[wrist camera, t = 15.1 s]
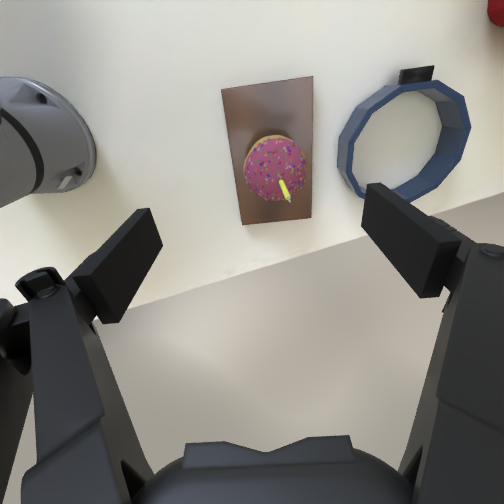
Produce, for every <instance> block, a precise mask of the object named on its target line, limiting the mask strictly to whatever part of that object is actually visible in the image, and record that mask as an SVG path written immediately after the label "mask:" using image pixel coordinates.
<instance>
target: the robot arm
mask: <svg viewBox="0 0 504 504" xmlns="http://www.w3.org/2000/svg"><path fill="white" fill-rule="evenodd" d="M95 162H96V152H95V146H94V142H93V138H92V136H91V133H90V131H89V129H88V127H87V125H86V123H85V122H84V120H83V119H82V117H81V116H80V114H79V113H78V112H77V111H76V110H75V108H74V107H73V106H72V105H71V104H70V103H69V102H68V101H67V100H66V99H65V98H63V97H62V96H61V95H60V94H58V93H57V92H56V91H54V90H52V89H51V88H49V87H47V86H46V85H43V84H41V83H39V82H36V81H34V80H30V79H25V78H16V77H0V208H1V207H3V206H6V205H8V204H10V203H12V202H14V201H16V200H18V199H20V198H22V197H24V196H27V195H29V194H36V193H59V192H67V191H70V190H72V189H75V188H76V187H78V186H80V185H82V184H84V183H85V182H86V181H87V180H88V179H89V178H90V176H91V175H92V173H93V170H94V167H95ZM361 227H362V228H363V229H364V230H365V231H366V233H367V234H368V235H369V236H370V238H371V239H372V240H373V241H374V243H375V244H376V245H377V246H378V247H379V249H380V250H381V251H382V252H383V253H384V255H385V256H386V257H387V258H388V260H389V261H390V262H391V263H392V264H393V266H394V267H395V268H396V269H397V271H398V272H399V273H400V274H401V276H402V277H403V278H404V279H405V280H406V282H407V283H408V284H409V285H410V287H411V288H412V289H413V290H414V292H415V293H416V294H417V295H418V296H419V298H431V297H439V296H440V294H441V291H442V289H443V286H445V287H446V288H447V289H448V290H449V291H450V294H449V297H448V299H447V301H446V304H445V306H444V309H443V310H442V312H443V313H444V314H443V317H442V321H441V325H440V328H439V332H438V336H437V339H436V343H435V346H434V350H433V354H432V357H431V361H430V365H429V368H428V372H427V376H426V379H425V383H424V387H423V390H422V394H421V397H420V401H419V404H418V408H417V412H416V416H415V419H414V423H413V426H412V430H411V433H410V437H409V441H408V444H407V447H406V450H405V453H404V455H403V458H402V461H401V463H400V466H399V469H398V472H397V471H396V470H395V469H394V468H392V467H391V466H389V465H388V464H387V463H385V462H383V461H382V460H380V459H378V458H377V457H375V456H373V455H371V454H369V453H366V452H364V451H361V450H358V449H355V448H353V447H352V443H351V440H350V436H349V435H344V436H323V437H307V438H305V439H302V440H299V441H297V442H294V443H292V444H289V445H287V446H284V447H281V448H279V449H276V450H274V451H271V452H261V451H257V450H253V449H250V448H247V447H243V446H239V445H236V444H232V443H229V442H225V441H222V442H204V443H203V442H202V443H186V445H185V451H184V456H183V457H181V458H179V459H177V460H175V461H173V462H171V463H169V464H168V465H166V466H165V467H164V468H162V469H161V470H159V471H158V472H157V473H156V474H155V475H154V473H153V471H152V469H151V468H150V466H149V464H148V462H147V460H146V458H145V456H144V454H143V451H142V448H141V446H140V443H139V440H138V438H137V435H136V433H135V430H134V427H133V425H132V422H131V419H130V417H129V414H128V411H127V409H126V406H125V404H124V401H123V398H122V396H121V393H120V390H119V388H118V385H117V382H116V380H115V377H114V375H113V372H112V369H111V367H110V364H109V361H108V359H107V356H106V353H105V351H104V348H103V345H102V343H101V340H100V338H99V335H98V332H97V330H96V327H95V326H94V324H93V323H92V321H93V320H94V318H95V317H96V315H97V316H98V318H99V319H100V321H101V322H102V324H110V323H119V322H120V320H121V318H122V317H123V315H124V313H125V311H126V310H127V308H128V306H129V304H130V303H131V301H132V299H133V297H134V296H135V294H136V292H137V290H138V289H139V287H140V285H141V283H142V282H143V280H144V278H145V277H146V275H147V273H148V271H149V270H150V268H151V266H152V264H153V263H154V261H155V259H156V257H157V256H158V254H159V252H160V250H161V249H162V247H163V244H162V241H161V238H160V235H159V233H158V230H157V227H156V224H155V222H154V219H153V216H152V213H151V211H150V208H142V209H137V210H136V211H135V212H134V213H133V214H132V215H131V216H130V217H129V218H128V219H127V220H126V221H125V222H124V223H123V224H122V225H121V226H120V227H119V229H118V230H117V231H116V232H115V233H114V234H113V235H112V236H111V237H110V238H109V239H108V240H107V241H106V242H105V243H104V244H103V245H102V246H101V247H100V248H99V249H98V250H97V251H96V252H94V253H92V254H91V255H89V256H88V257H87V258H86V259H85V260H84V261H83V263H81V264H80V265H79V266H78V268H76V269H75V270H74V271H73V272H72V273H71V274H70V275H69V276H68V277H67V278H66V279H65V280H63V279H62V278H61V276H60V275H59V273H58V272H57V270H56V269H55V268H54V267H44V268H40V269H37V270H34V271H32V272H30V273H28V274H26V275H25V276H23V277H21V278H20V279H19V280H18V281H17V282H16V284H15V287H16V288H17V289H18V290H19V291H20V292H21V294H22V295H23V296H24V297H25V298H26V300H27V301H28V303H24V304H21V305H17V306H13V305H12V304H11V303H10V302H9V301H8V300H7V299H0V504H2V503H3V499H4V495H5V492H6V488H7V485H8V480H9V477H10V474H11V470H12V466H13V463H14V459H15V455H16V452H17V448H18V445H19V441H20V438H21V434H22V430H23V427H24V423H25V419H26V416H27V412H28V409H29V405H30V401H31V398H32V394H33V396H34V414H35V430H36V448H37V463H36V465H34V466H33V467H32V468H30V469H29V470H27V471H26V472H25V474H24V476H23V478H22V484H21V504H504V247H502V246H499V245H495V244H487V243H476V242H474V241H473V240H471V239H470V238H468V237H467V236H465V235H464V234H462V233H460V232H459V231H457V230H456V229H455V228H453V227H450V225H449V224H447V223H445V222H444V221H443V220H441V219H438V218H435V217H433V216H427V215H426V214H424V213H423V212H422V211H420V210H419V209H417V208H416V207H415V206H413V205H412V204H410V203H409V202H407V201H406V200H405V199H403V198H402V197H400V196H399V195H397V194H396V193H395V192H393V191H392V190H390V189H389V188H388V187H386V186H385V185H383V184H382V183H372V184H367V188H366V195H365V202H364V209H363V216H362V223H361Z"/></svg>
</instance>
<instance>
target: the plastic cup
mask: <svg viewBox="0 0 504 504" xmlns="http://www.w3.org/2000/svg"><path fill="white" fill-rule="evenodd" d="M487 12H488V15H489V18H490V21H492V22H493V23H494V24H495V25H497V26H500V27H504V0H488V11H487Z"/></svg>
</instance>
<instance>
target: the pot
mask: <svg viewBox="0 0 504 504" xmlns="http://www.w3.org/2000/svg"><path fill="white" fill-rule="evenodd" d="M433 70H434V65H433V66H426V67H419V68H412V69H404V70H400V75H399V81H398V84H395V85H388V86H384V87H383V88H382V89H380V90H379V91H378V92H376V93H375V94H373V95H372V96H371V97H369V98H368V99H367V100H365V101H364V102H363V103H361V104H360V105H359V106H357V107H356V108H355V110H354V112H353V113H352V115H351V117H350V119H349V120H348V122H347V124H346V126H345V128H344V129H343V131H342V133H341V135H340V136H339V144H338V159H337V167H338V169H339V170H340V172H341V174H342V176H343V178H344V180H345V181H346V183H347V185H348V187H349V188H350V189H351V190H352V191H353V192H354V193H355V194H356V195H357V196H359V197H361V198H363V199H365V195H366V189H364V188H362V187H360V186H359V185H358V183H357V181H356V179H355V177H354V175H353V173H352V161H353V151H354V143H355V141H356V139H357V138H358V136H359V134H360V133H361V131H362V130H363V128H364V126H365V125H366V123H367V121H368V120H369V118H370V116H371V115H372V113H374V112H375V111H377V110H378V109H379V108H381V107H382V106H384V105H385V104H386V103H388V102H389V101H391V100H392V99H393V98H395V97H396V96H398V95H399V94H400V93H402V92H410V91H419V92H421V93H422V94H424V95H426V96H427V97H429V98H431V99H432V100H434V101H435V102H436V105H437V108H438V111H439V115H440V118H441V122H442V125H443V127H442V130H441V134H440V138H439V141H438V145H437V149H436V153H435V154H434V155H433V157H432V158H431V159H430V161H429V162H428V163H427V164H426V166H425V167H424V168H423V169H422V171H421V172H420V173H419V174H418V176H416V177H414V178H413V179H411V180H409V181H408V182H406V183H404V184H402V185H401V186H399V187H397V188H396V189H392V191H393V192H395V193H396V194H397V195H399V196H400V197H402V198H403V199H405V200H406V201H407V202H409V203H411V202H412V201H414V200H416V199H418V198H420V197H421V196H423V195H425V194H427V193H429V192H430V191H432V190H434V189H436V188H437V187H438V186H439V185H440V184H441V183H442V181H443V180H444V179H445V178H446V177H447V176H448V174H449V173H450V172H451V171H452V170H453V169H454V167H455V166H456V165H457V164H458V163H459V162H460V160H461V157H462V154H463V151H464V148H465V145H466V142H467V139H468V136H469V133H470V130H471V124H470V119H469V115H468V111H467V107H466V103H465V99H464V96H462V95H461V94H459V93H458V92H456V91H455V90H453V89H451V88H450V87H448V86H447V85H445V84H443V83H442V82H440V81H439V80H431V79H432V75H433Z"/></svg>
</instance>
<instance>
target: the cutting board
mask: <svg viewBox="0 0 504 504" xmlns="http://www.w3.org/2000/svg"><path fill="white" fill-rule="evenodd" d="M221 93H222V99H223V105H224V112H225V118H226V125H227V131H228V137H229V144H230V150H231V157H232V163H233V169H234V176H235V182H236V189H237V195H238V201H239V208H240V214H241V221H242V225H249V224H258V223H268V222H278V221H287V220H297V219H307V218H311V205H312V124H313V76H310V77H303V78H296V79H290V80H283V81H276V82H269V83H262V84H255V85H248V86H241V87H234V88H227V89H221ZM272 135H281V136H284V137H286V138H289V139H291V140H293V141H295V143H296V144H297V145H298V146H299V147H300V149H301V150H302V152H303V154H304V156H305V161H306V171H305V181H304V183H303V186H301V187H302V188H301V189H299V190H298V191H297V192H296V193H295V194H293V196H291V198H290V201H291V203H290V202H289V201H288V200H286V199H284V200H277V201H271V200H265V199H264V198H262V197H260V196H258V195H256V194H254V193H253V192H252V191H251V190H250V188H249V186H248V184H247V183H246V179H245V176H244V173H243V166H244V161H245V159H246V157H247V155H248V153H249V151H250V150H251V148H252V147H253V145H254V144H255V143H256V142H257V141H258V140H260V139H261V138H263V137H266V136H272Z"/></svg>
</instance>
